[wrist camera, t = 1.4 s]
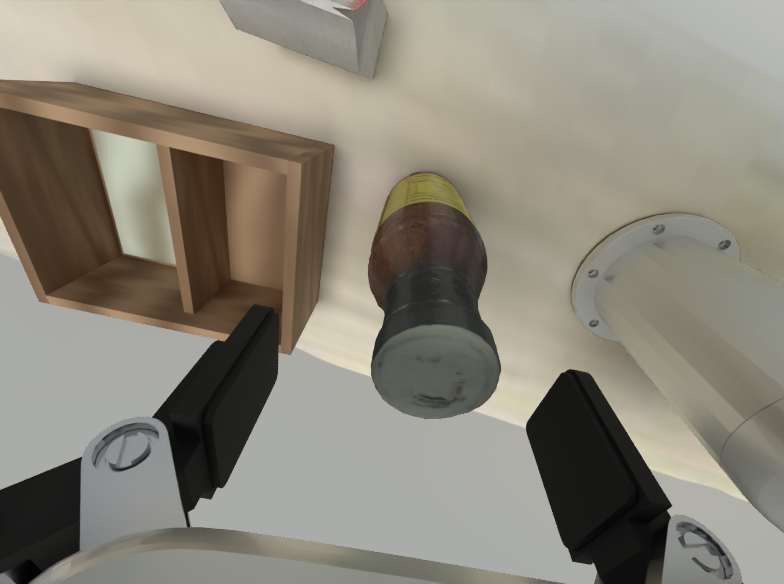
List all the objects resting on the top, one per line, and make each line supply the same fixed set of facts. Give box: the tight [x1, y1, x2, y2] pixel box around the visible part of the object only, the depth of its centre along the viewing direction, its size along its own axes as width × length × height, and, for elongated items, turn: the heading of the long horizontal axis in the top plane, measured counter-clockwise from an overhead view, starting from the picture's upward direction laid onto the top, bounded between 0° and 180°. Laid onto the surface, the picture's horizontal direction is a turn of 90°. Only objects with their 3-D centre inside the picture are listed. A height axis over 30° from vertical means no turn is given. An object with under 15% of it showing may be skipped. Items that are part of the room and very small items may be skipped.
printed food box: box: [219, 0, 388, 79], centre depth 17 cm, size 4×7×10 cm, turn 72°
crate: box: [0, 80, 334, 355], centre depth 25 cm, size 20×15×8 cm
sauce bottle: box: [368, 173, 501, 419], centre depth 19 cm, size 6×6×20 cm
